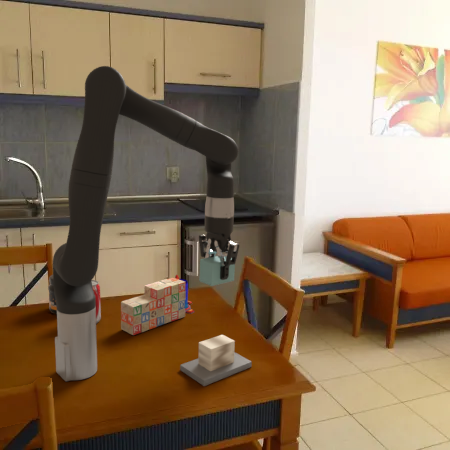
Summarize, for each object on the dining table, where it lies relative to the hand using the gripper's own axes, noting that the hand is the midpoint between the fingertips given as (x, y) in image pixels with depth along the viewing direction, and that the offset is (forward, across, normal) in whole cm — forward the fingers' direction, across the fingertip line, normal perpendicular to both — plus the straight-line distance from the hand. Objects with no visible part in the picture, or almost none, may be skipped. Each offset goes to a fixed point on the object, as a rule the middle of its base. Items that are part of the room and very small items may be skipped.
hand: (217, 276), depth 127 cm
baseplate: (+23, +6, -4) cm, 24 cm away
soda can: (+23, -43, -16) cm, 51 cm away
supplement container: (+24, -57, -18) cm, 64 cm away
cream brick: (+22, +6, -4) cm, 23 cm away
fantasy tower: (+23, -36, +13) cm, 45 cm away
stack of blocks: (+23, -29, 0) cm, 37 cm away
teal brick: (+1, 0, 0) cm, 1 cm away
